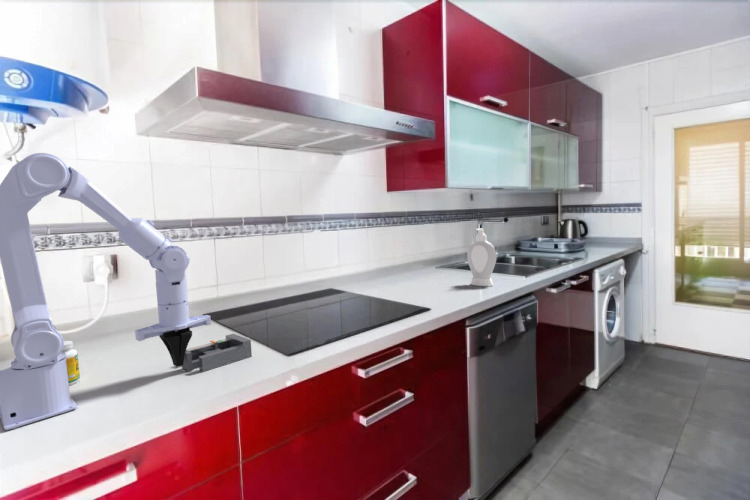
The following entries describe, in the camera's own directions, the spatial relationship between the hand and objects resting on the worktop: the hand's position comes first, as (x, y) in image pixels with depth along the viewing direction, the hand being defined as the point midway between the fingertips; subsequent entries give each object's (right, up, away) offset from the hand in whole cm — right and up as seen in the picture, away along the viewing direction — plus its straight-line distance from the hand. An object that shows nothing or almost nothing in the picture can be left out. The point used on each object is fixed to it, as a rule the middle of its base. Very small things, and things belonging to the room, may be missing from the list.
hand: (178, 364), depth 85 cm
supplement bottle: (-21, -3, -4) cm, 22 cm away
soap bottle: (+87, +9, +85) cm, 122 cm away
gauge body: (+6, -1, +7) cm, 9 cm away
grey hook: (+3, -1, +5) cm, 6 cm away
